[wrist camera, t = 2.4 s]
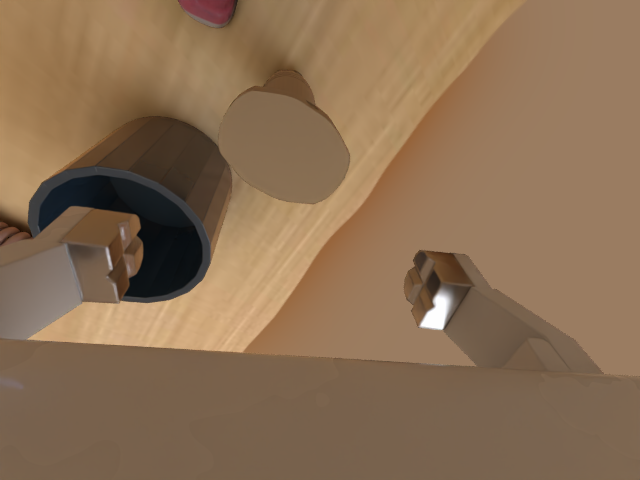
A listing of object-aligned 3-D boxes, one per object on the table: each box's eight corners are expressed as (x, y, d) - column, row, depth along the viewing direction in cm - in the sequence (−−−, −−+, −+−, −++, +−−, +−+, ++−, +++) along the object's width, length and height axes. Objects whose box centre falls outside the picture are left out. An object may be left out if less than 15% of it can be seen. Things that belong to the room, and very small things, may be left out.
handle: (268, 36, 26) (248, 65, 13) (334, 85, 28) (368, 147, 16) (240, 92, 28) (202, 159, 16) (304, 133, 30) (313, 219, 18)
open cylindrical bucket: (94, 104, 28) (0, 152, 19) (235, 128, 30) (211, 182, 21) (115, 219, 34) (53, 296, 25) (229, 233, 36) (209, 308, 27)
